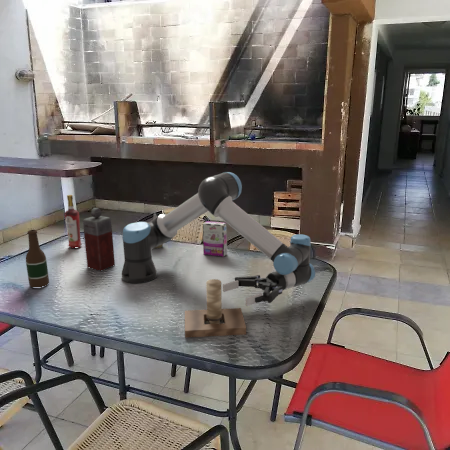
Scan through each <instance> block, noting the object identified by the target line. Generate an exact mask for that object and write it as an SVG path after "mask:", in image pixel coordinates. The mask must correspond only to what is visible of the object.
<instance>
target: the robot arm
mask: <svg viewBox="0 0 450 450" xmlns="http://www.w3.org/2000/svg"><path fill="white" fill-rule="evenodd" d="M242 186H243V184H242V181H241V179H240V178H239V176H238V175H237V174H235V173H233V172H230V171H224V172H222V173H219V174H215V175H212V176H208V177H206V178H205V179H203V180H202V181H201V182H200V184H199V186H198V190H197V191H198V192H197V193H196V194H194V195H193V196H191V197H190V198H188V199H187V200H185V201H184V202H183V203H181V204H180V205H178V206H177V207H176V208H174V209H173V210H171V211H169V212H168V213H161V214H159V215H157V217H156V218H155V219H153V218H152V219H151V220H152V221H151V220H150V221H148V222H146V221H137V222H131V223H128V224H127V225H125V226H124V227H123V229H122V242H123V243H122V245H123V255H124V256H123V257H124V262H123V263H124V264H123V265H122V269H121V279H122V280H123V282H125V283H130V284H142V283H147V282H151V281H153V280H156V278H157V275H158V273H157V270H158V269H157V268H156V265H155V264H154V263H155V262H154V261H153V256H152V255H153V254H152V250H153V249H156V248H155V247H157V246H159V245H162V244H163V245H164V244H167V243H169V242H170V241H171V240H172V239H174V237H175V236H177V234H178V231H179V230H180V229H182V228H184V227H185V226H187V225H189V224H190V223H191V222H193V221H194V220H196V219H198V218H199V217H201V216H202V215H203V214H205V213H207V212H209V213H210V214H211V215H212V216H213V217H214V218H216V217H219V218H220V219H221V220H223V221H224V223H227V225H228V226H230V228H232V229H233V230H234V231H236V232H237V233H238V234H239V235H240V236H242V238H244V239H245V240H246V241H247V242H248V243H250V244H251V245H253V247H255V248H256V249H257V250H259V251H260V252H261V253H262V254H263V255H265V256H266V257H267V258H268V259H269V260H270V261H271V262H273V265H272V266H273V269H274V268H275V270H276V272H272V271H271V272H272V273H271V272H270V273H268V274H267V276H266V277H261V275H260V274H257V275H249V276H248V275H247V276H245V275H244V276H235V277H234V280H233V281H229V282H226V283H224V284H222V292H223V293H225V292H229V291H232V290H237V289H239V287H246V288H247V287H248V288H252V287H253V288H254V289H260V290H262V291H263V292H261V293H257V294H254V295H251V296H248V297H245V306H246V307H248V306H252V305H255V304H258V303H261V302H265V303H266V302H267V303H269V304H271V303H272V302H273V301H274V300H275V299H277V297H278V296H279V295H281V294H283V291H285V290H287V289H288V290H289V289H292V288H294V287H298V286H300V285H305V284H307V283H310V282H311V281H313V280H314V279H315V277H316V270H315V266H314V265H313V264H312V263H310V260H311V247H312V244H311V237H310V236H309V235H306V234H300V233H299V234H293V235H292V236H291V237H290V241H289V244H290V245H289V246H287V245H286V244H285V243H284V242H282V241H281V240H280V239H279V238H277V237H276V236H275V235H274V234H273V233H271V232H270V231H269V230H268V229H267V228H265V227H264V225H262V224H261V223H260V222H258V221H257V220H256V219H255V218H253V217H252V216H251V215H249V213H247V212H246V211H245V210H244V209H242V208H241V207H240V206H239V205H238V204H236V203H235V202H234V200H237V199H238V198H239V197H240V195H241V194H242V189H243V187H242Z"/></svg>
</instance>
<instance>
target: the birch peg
mask: <svg viewBox="0 0 450 450" xmlns="http://www.w3.org/2000/svg"><path fill="white" fill-rule="evenodd" d="M205 284H206V285H205V286H206V287H205V288H206V310H207V319H208V320H209V321H208V324H221V322H220V321H222V320H221V319H222V309H223V308H222V306H223V305H222V304H223V303H222V302H223V301H222V280H220V279H216V278H215V279H214V278H213V279H208V280H206V283H205Z"/></svg>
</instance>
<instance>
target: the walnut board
mask: <svg viewBox="0 0 450 450" xmlns="http://www.w3.org/2000/svg"><path fill="white" fill-rule="evenodd" d="M242 311H243V310H242V308H241V307H235V308H234V307H233V308H222V319H221V320H220V321H223V322H222V323H220V324H209V323H208V324H207V323H206V324H205V322H209V320H208V319H207V309H194V310H193V309H191V310H184V338H203V337H204V338H205V337H222V336H223V337H225V336H241V335H242V336H244V335H245V336H246V335H247V325H246V322H245V318H244V315H243V312H242Z"/></svg>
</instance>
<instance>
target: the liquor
mask: <svg viewBox="0 0 450 450" xmlns="http://www.w3.org/2000/svg"><path fill="white" fill-rule="evenodd" d="M66 199H67V210H66V211H65V212H64V213H63V216H64V220H65V226H66V227H65V228H66V233H67V239H68V245H67V247H69V248H70V247H71V248H70V249H73V248H75V247H79V248H81V246H82V244H83V243H82V241H81V239H82V238H81V224H80V220H81V219H80V211H78V210H77V209H75V207H74V198H73V194H68V195H66Z"/></svg>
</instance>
